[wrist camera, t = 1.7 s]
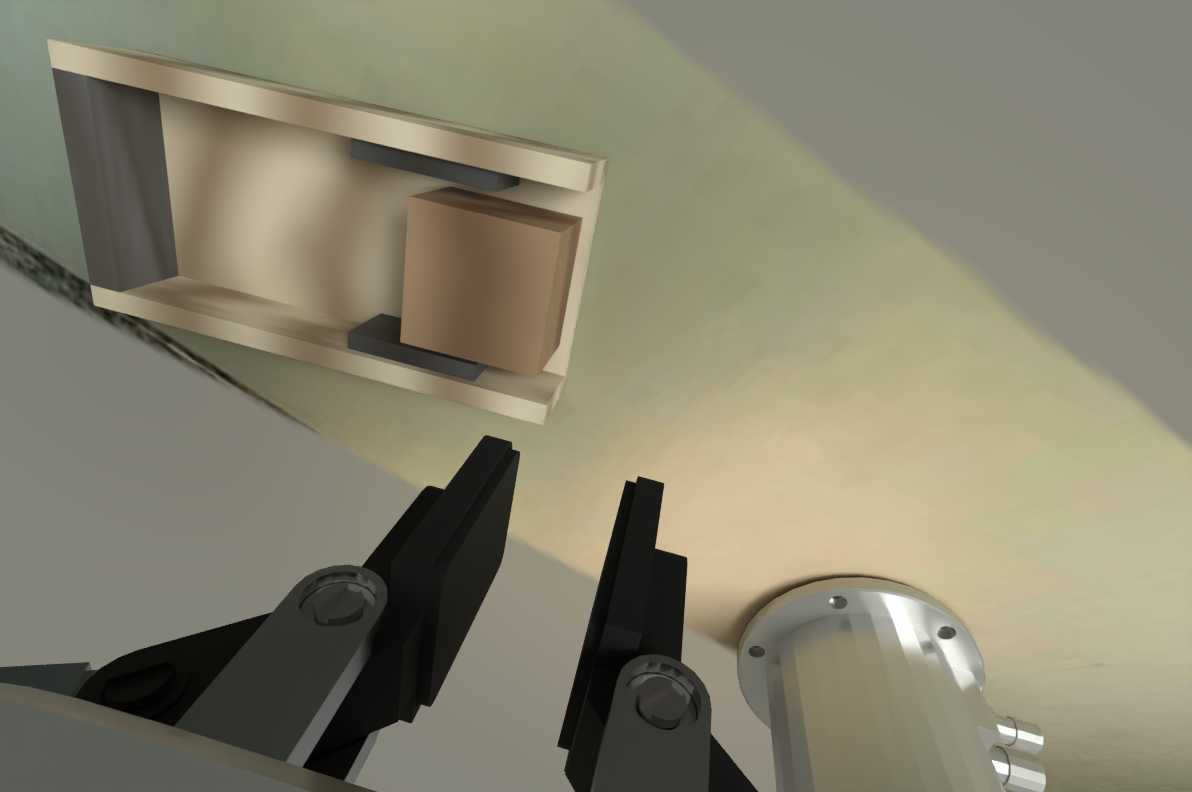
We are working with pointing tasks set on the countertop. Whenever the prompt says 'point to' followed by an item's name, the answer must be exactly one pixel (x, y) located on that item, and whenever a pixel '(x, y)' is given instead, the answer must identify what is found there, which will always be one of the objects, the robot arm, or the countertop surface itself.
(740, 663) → the robot arm
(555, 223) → the block
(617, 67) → the countertop surface
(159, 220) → the chute
